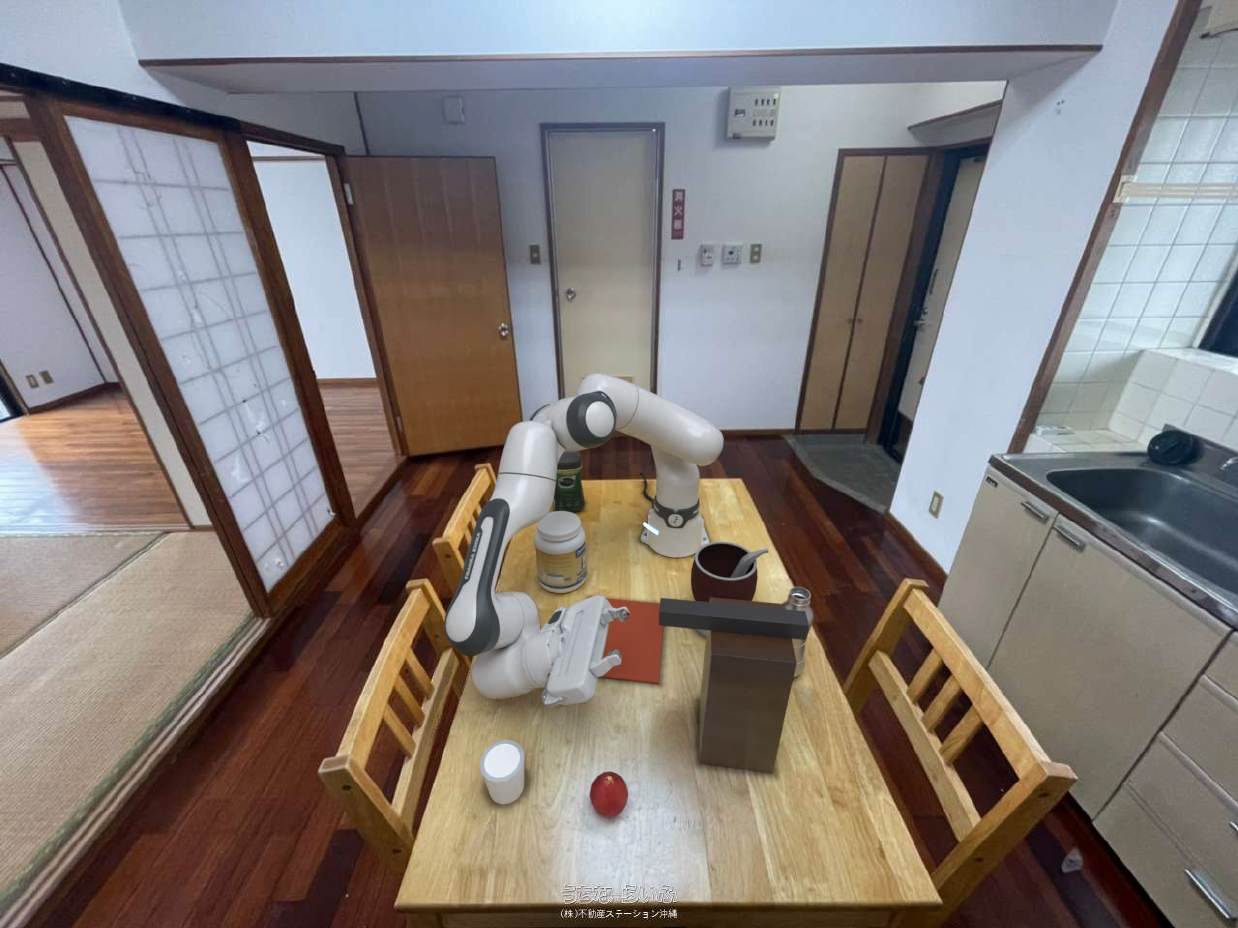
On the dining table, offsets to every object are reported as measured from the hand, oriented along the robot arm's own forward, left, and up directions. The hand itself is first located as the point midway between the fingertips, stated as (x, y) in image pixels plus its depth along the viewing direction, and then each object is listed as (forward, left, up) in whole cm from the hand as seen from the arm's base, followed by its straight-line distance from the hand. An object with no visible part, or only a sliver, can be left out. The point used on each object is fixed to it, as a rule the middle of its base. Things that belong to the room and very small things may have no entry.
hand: (624, 633), depth 84 cm
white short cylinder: (+14, -17, -22) cm, 32 cm away
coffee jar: (-70, -26, -22) cm, 78 cm away
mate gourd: (-28, +19, -22) cm, 40 cm away
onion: (+15, 0, -22) cm, 27 cm away
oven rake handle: (0, +17, +4) cm, 17 cm away
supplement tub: (-37, -20, -22) cm, 48 cm away
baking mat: (-20, -3, -22) cm, 30 cm away
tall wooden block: (0, +20, -22) cm, 29 cm away
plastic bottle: (-16, +31, -22) cm, 41 cm away
